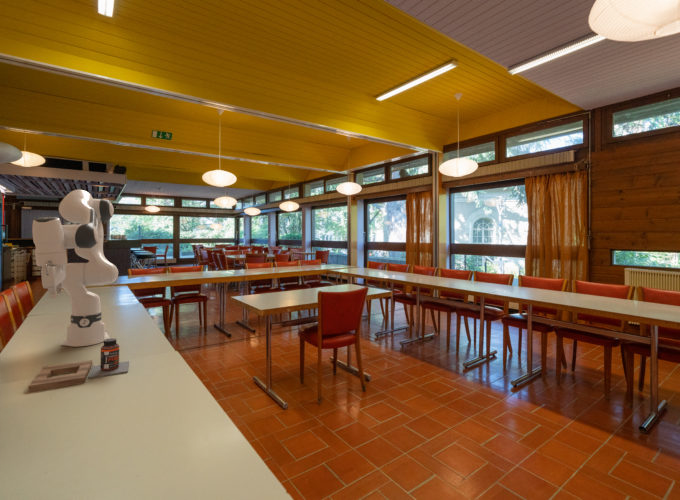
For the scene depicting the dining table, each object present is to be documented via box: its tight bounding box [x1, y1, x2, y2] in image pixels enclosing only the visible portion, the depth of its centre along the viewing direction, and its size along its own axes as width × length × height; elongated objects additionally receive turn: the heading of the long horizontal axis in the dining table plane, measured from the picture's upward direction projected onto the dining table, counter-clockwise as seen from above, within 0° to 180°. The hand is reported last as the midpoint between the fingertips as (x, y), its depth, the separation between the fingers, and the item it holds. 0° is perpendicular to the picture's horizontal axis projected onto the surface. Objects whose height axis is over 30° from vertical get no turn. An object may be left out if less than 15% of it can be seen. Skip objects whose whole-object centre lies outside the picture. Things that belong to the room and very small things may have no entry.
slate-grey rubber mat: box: [87, 360, 130, 380], centre depth 127 cm, size 12×12×1 cm
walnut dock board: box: [28, 359, 93, 393], centre depth 120 cm, size 19×15×2 cm
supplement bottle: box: [100, 338, 120, 371], centre depth 127 cm, size 6×6×11 cm
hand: (56, 295), depth 126 cm, fingers open, 8 cm apart
